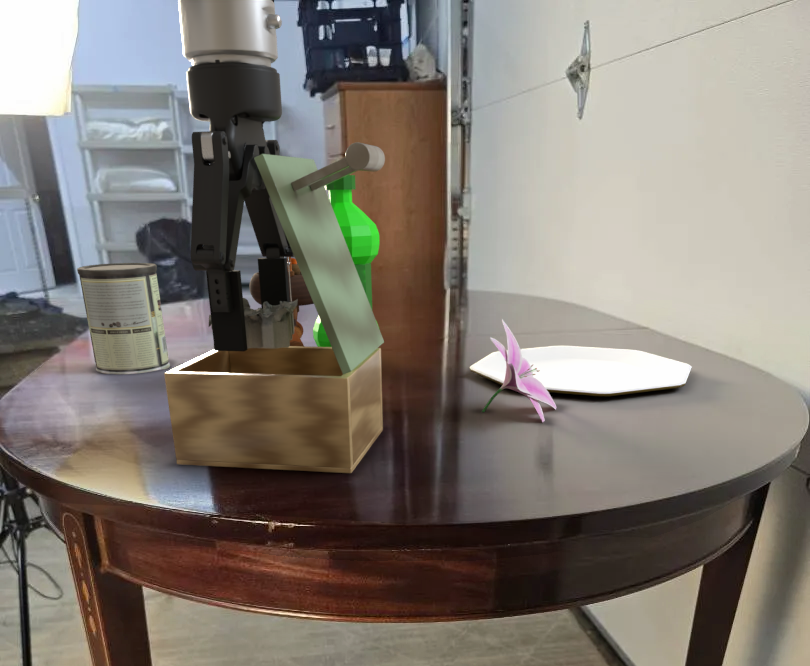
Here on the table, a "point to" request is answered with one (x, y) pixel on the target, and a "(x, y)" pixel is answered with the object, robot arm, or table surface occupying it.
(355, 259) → the plastic bottle
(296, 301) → the egg carton
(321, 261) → the lid
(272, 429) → the tan wooden box
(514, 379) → the lily
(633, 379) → the plate
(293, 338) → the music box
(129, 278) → the coffee can
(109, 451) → the table surface
